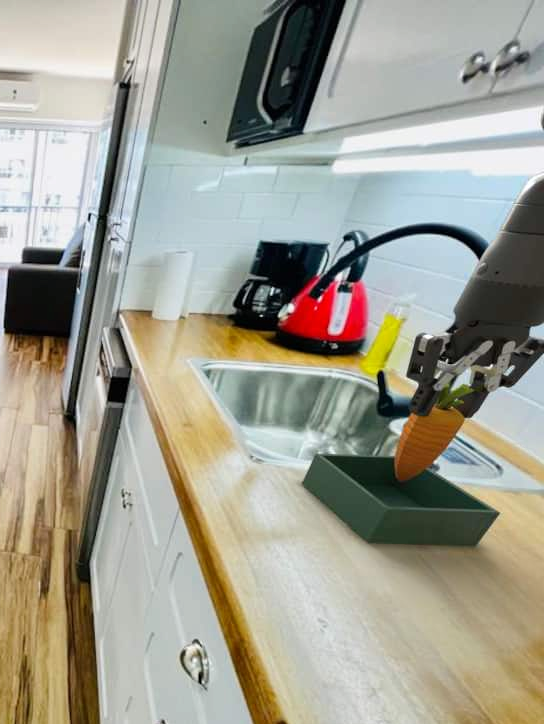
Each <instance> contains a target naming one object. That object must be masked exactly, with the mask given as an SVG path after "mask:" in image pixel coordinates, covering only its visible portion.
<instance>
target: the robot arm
mask: <svg viewBox="0 0 544 724" xmlns="http://www.w3.org/2000/svg"><path fill="white" fill-rule="evenodd" d="M540 115H541V116H540V126H541V128H542V130H543V131H544V107H543V109H542V111H541V114H540ZM452 310H453V314H454V320H453V322H452V323H451V324H450V325H449V326H448V327H446V329H445V330H444V331H443V332H439V333H435V334H430V333H426V332H420V333H418V334H417V335H416V336H415V338H414V342H413V347H412V350H411V354H410V358H409V362H408V366H407V371H406V374H405V375H406V376H405V377H406V378H407V379H409V380H411V381H413V382H416V383H417V384H418V385H417V388H416V390H415V391H414V394H413V395H412V397H411V399H410V400H409V403H408V405H407V407H408V411H409V412H410V414H411V413H413V414H415V415H417V416H419V417H427V416H428V415H429V413H430V412H431V410H432V408H433V407H434V405H435V404H437V400H438V398H439V396H440V394H441V393H442V391H441V389H442V388H444V387H445V385H446V384H447V383H448V382H449V381H450V380H451V381H452V379H454V378H455V377H456V376H457V377H458V376H461V375H463V374H464V373H465V372H466V371H467V370H468V369H470V370H471V372H470V376H469V381H468V383H469V385H468V386H469V389H473V390H474V392H471V393H468V394H465V395H463V396H461V397H460V398H458V399H456V401H457V400H462V401H463V402H464V403H463V404H460V405H457V406H454V407H452V408H455V409H456V410H457V411H459V412H460V413H461V414H462V415H463V416H464V418H465V419H472V418H473V417H474V416H475V414H477V413H478V412H479V410H480V409H481V407H482V405H483V404H484V403H485V401H486V400H487V398H488V396H489V394H490V393H492V392H493V393H494V392H495V391H496V390H498V389H499V388H503V387H504V388H507V389H509V388H512V387H514V386H515V385H516V384H517V383H518V382H519V381H520V380H521V379H522V377H524V376H525V375H526V373H527V372H528V371H529V370H530V369H531V368H532V367H533V366H534V365H535V364H536V363H537V362H538V361H539V359H541V357H542V356H543V355H544V339H542V338H539V337H536V336H530V335H531V334H530V333H531V329H532V328H534V327H540V326H542V325H543V324H544V171H542V172H540V173H537V174H536V175H533V176H531V178H529V179H528V180H527V182H526V183H525V184H524V185H523V187H522V188H521V190H520V192H519V193H518V194H517V196H516V198H515V200H514V202H513V204H512V205H511V207H510V209H509V211H508V213H507V214H506V217H505V218H504V220H503V222H502V224H501V226H500V228H499V230H498V231H497V233H496V235H495V236H494V238H493V239H492V240H491V242H490V243H489V245H488V246H487V248H486V249H485V250H484V252H483V253H482V255H481V257H480V258H479V261H478V263H477V264H476V267H475V268H474V271H473V272H472V274H471V276H470V277H469V280H468V282H467V283H466V285H465V287H464V289H463V291H462V293H461V294H460V296H459V298H458V300H457V301H456V304H455V305H454V307H453V309H452ZM447 361H448V362H451V363H453V364H449V363H447ZM512 366H514V367H513V369H512V370H511V371H510V372H509V373H508V375H507V374H506V373H507V372H508V370H509V369H510V368H511V367H512ZM441 371H443V372H441ZM439 373H440V375H439V376H438V377H437V378H436V376H437V375H438V374H439Z"/></svg>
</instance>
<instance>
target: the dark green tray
mask: <svg viewBox="0 0 544 724" xmlns="http://www.w3.org/2000/svg"><path fill="white" fill-rule="evenodd" d="M301 485H302V486H303V487H305V489H307V490H308V491H309V492H310V493H311V494H312V495H313V496H315V498H316V499H318V500H319V501H320V502H321V503H322V504H323V505H324V506H326V507H327V508H328V509H329V510H330V511H331V512H332V513H334V514H335V515H336V517H338V518H339V520H341V521H342V522H344V523H345V524H346V525H347V526H348V527H349V528H350V529H351V530H352V531H353V532H355V533H356V534H357V535H358V536H359V537H360V538H361V539H362V540H363V541H365V543H367V544H388V545H389V544H390V545H418V546H419V545H420V546H421V545H422V546H447V547H448V546H449V547H472V548H473V547H476V548H477V546H478V544H479V543H480V542H481V540H482V539H483V537H484V536H485V535H486V533H487V532H488V531H489V529H490V528H491V527H492V525H493V524H494V523H495V521H496V520H497V518H498V517H499V516H500V514H501V512H500V511H499V510H497V509H495V508H493V506H490V505H489V504H488V503H486V502H484V501H482V500H481V499H479V498H477V497H476V496H475V495H473V494H471V493H470V492H468V491H466V490H465V489H463V488H461V487H460V486H458V485H456V484H455V483H453V482H452V481H450V480H448V479H447V478H446V477H444V476H442V475H440V473H437V472H436V471H434V470H432V469H431V468H429V467H428V468H426V469H425V470H424V471H422V472H421V473H419V474H418V475H416V476H414V477H412V478H411V479H409V480H407V481H403V482H399V481H398V479H397V477H396V473H395V455H376V454H342V453H317V452H316V453H315V454H314V456H313V459H312V461H311V463H310V464H309V467H308V469H307V471H306V474H305V476H304V478H303V480H302V482H301Z"/></svg>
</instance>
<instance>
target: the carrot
mask: <svg viewBox="0 0 544 724" xmlns="http://www.w3.org/2000/svg"><path fill="white" fill-rule="evenodd" d="M451 381H452V379H451V380H450V381H449V382H448V383H447V384H446V385H445V387H444V388H442V389H441V391H442V393H441V394H440V396H439V398H438V400H437V401H436V403H435V405H434V407H433V408H432V410H431V412H430V413H429V415H428V416H427V417H419V416H417V415H415V414H413V413H411V412H410V415H409V416H408V419H407V420H406V423H405V425H404V426H403V428H402V432H401V434H400V436H399V439H398V442H397V446H396V448H395V454H394V456H395V473H396V477H397V479H398V481H399V482H403V481H407V480H409V479H411V478H412V477H414V476H416V475H418V474H419V473H421V472H422V471H424V470H425V469H426V468H429V467H430V466H431V465H432V464H434V463H435V461H436V460H437V459H439V457H440V456H441V455H442V454H443V453H444V452H445V451H446V450H447V448H448V447H449V446H450V444H451V443H452V441H453V440H454V438H455V437H456V435H457V434H458V433H459V431H460V430H461V428H462V426H463V425H464V423H465V419H466V418H464V416H463V415H462V414H461V413H460V412H459V411H457V410H456V409H455V408H453V407H454V406H457V405H460V404H463V403H464V402H463V401H462V400H457V399H458V398H460V397H461V396H463V395H465V394H468V393H471V392H474V390H473V389H469V386H470V385H468V384H466V383H462V384H460V385H459V386H457V387H456V388H454V389H453V390H452V391H451V392H449V391H450V387H451Z"/></svg>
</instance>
